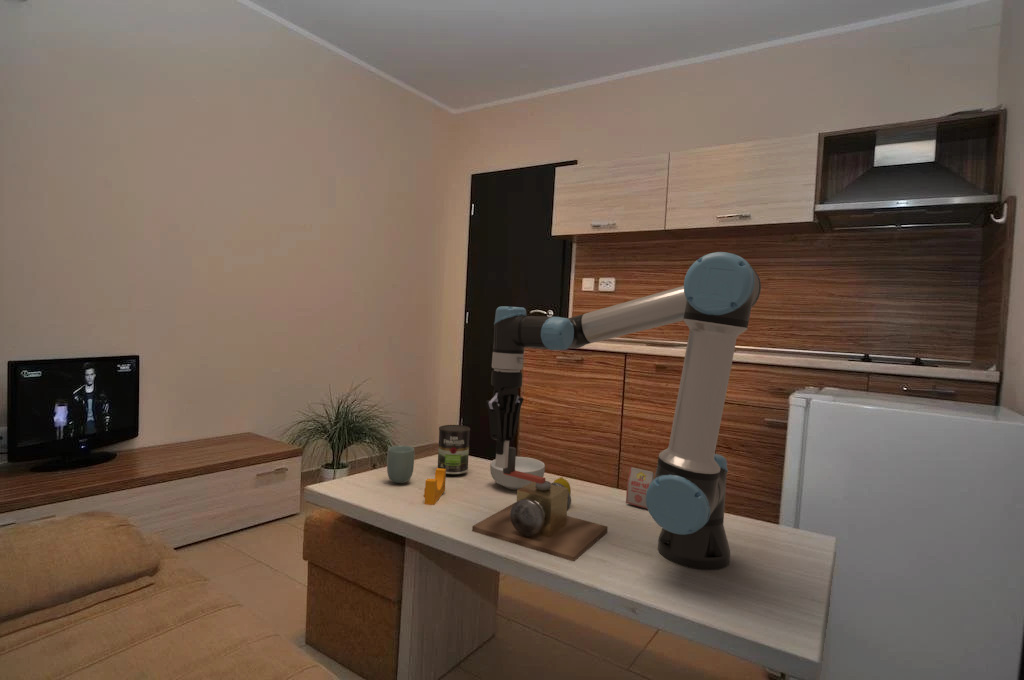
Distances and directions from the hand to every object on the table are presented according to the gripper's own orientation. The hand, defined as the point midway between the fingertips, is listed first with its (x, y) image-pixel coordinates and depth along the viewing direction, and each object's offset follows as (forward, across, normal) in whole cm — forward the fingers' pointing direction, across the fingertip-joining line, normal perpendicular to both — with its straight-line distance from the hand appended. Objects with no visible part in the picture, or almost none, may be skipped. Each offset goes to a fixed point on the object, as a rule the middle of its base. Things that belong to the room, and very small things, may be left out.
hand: (501, 466), depth 123 cm
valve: (+13, +4, -10) cm, 17 cm away
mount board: (+15, +4, -10) cm, 18 cm away
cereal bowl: (+15, +28, +13) cm, 35 cm away
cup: (+15, +8, +42) cm, 45 cm away
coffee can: (+15, +28, +38) cm, 49 cm away
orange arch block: (+15, +5, +26) cm, 30 cm away
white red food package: (+14, +39, -22) cm, 47 cm away
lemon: (+15, +22, -5) cm, 27 cm away
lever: (+4, +3, -10) cm, 11 cm away
